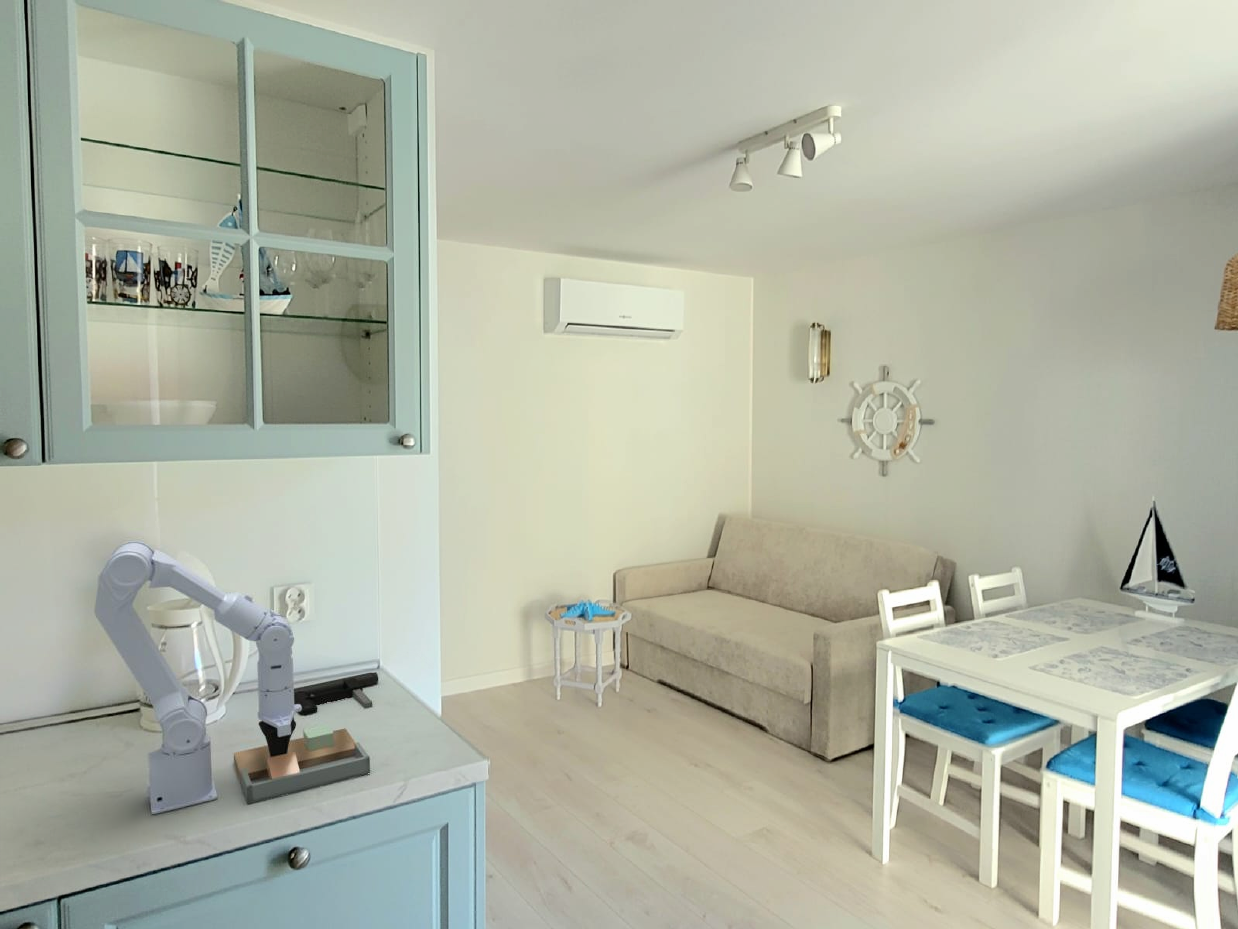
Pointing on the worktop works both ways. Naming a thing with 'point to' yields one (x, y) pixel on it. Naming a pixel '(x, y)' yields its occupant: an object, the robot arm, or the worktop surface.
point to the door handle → (334, 692)
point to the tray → (306, 777)
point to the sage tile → (318, 737)
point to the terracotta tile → (282, 765)
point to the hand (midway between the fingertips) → (278, 760)
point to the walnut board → (258, 756)
